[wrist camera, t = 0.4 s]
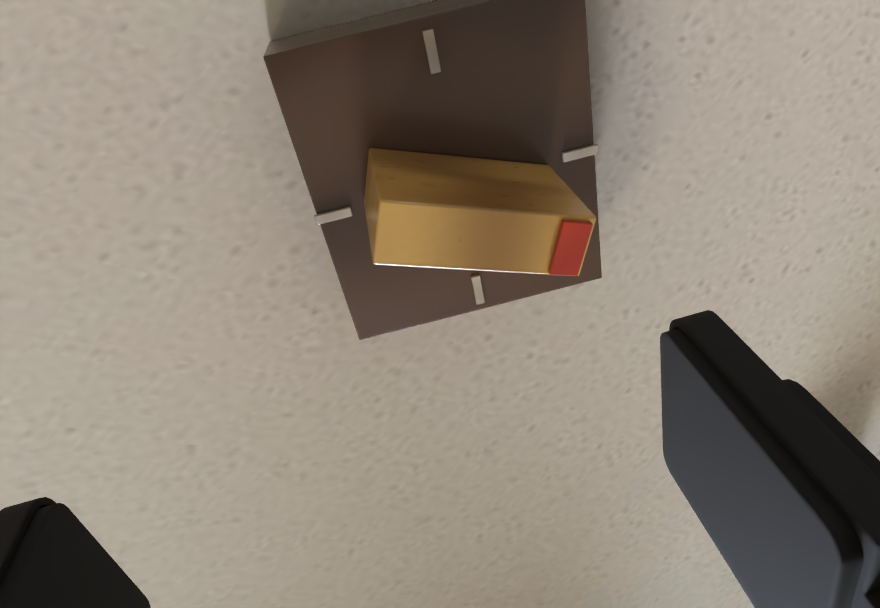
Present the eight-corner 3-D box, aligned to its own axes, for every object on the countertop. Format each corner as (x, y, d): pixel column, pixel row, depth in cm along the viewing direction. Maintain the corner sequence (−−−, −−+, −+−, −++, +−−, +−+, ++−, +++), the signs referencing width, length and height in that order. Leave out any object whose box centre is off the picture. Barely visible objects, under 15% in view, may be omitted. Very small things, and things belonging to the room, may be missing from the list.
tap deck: (266, 41, 23) (259, 58, 20) (558, -30, 23) (588, -23, 20) (354, 305, 29) (357, 343, 27) (580, 247, 30) (605, 279, 27)
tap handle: (363, 203, 24) (373, 269, 19) (368, 146, 22) (380, 203, 18) (536, 216, 25) (582, 280, 21) (549, 164, 24) (600, 220, 20)
